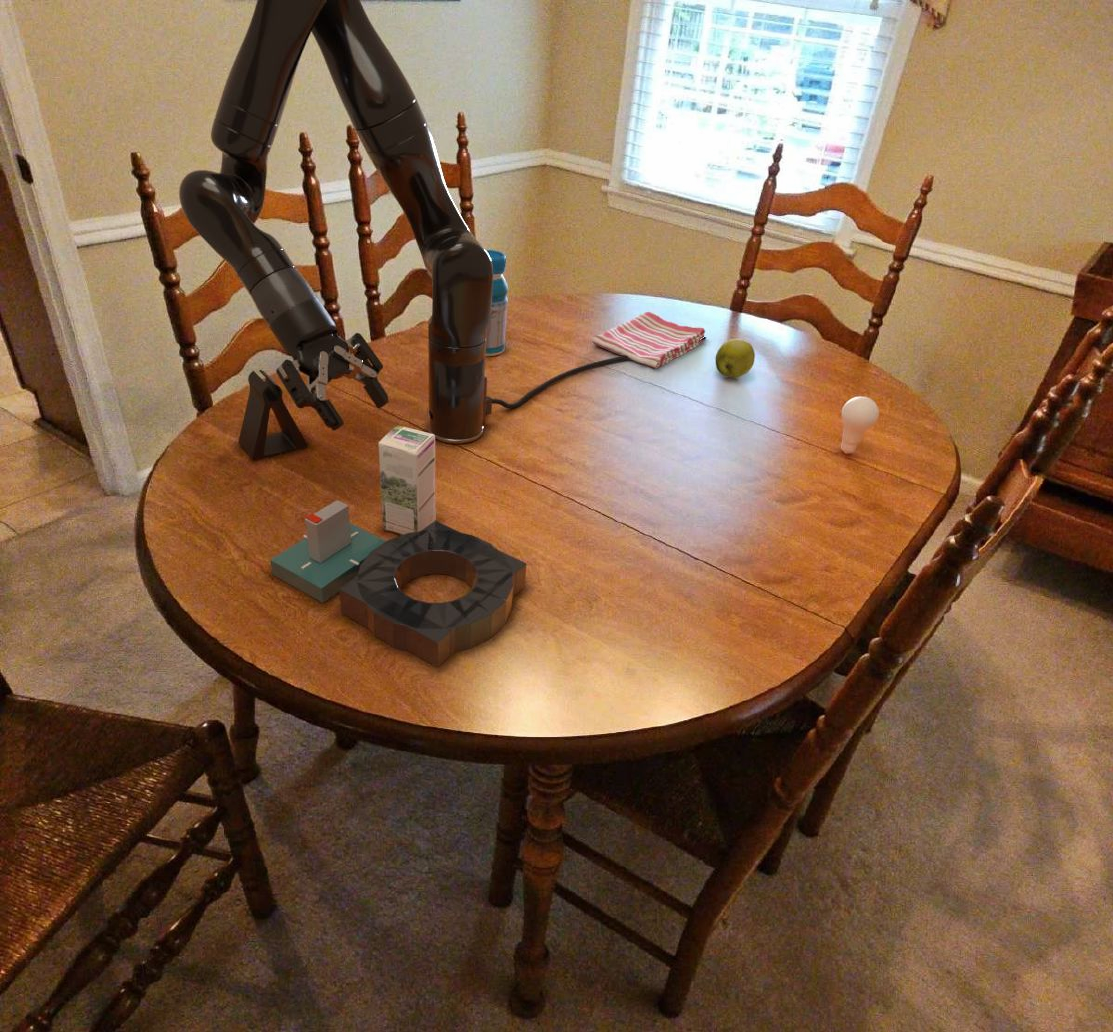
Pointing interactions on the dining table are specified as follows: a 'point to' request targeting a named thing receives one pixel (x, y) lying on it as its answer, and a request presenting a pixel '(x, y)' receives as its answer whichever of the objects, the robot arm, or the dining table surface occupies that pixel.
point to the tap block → (324, 565)
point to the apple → (735, 358)
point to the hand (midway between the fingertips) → (362, 416)
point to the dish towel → (650, 339)
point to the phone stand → (257, 421)
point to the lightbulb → (857, 421)
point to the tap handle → (328, 531)
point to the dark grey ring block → (433, 624)
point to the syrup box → (407, 480)
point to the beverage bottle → (497, 306)
